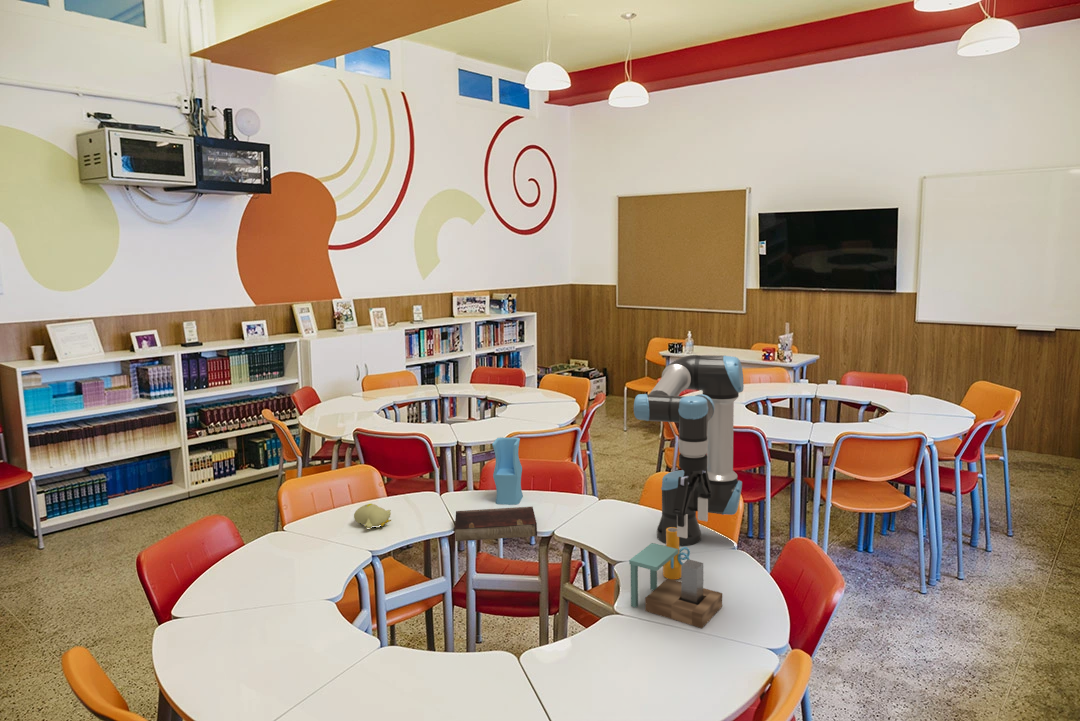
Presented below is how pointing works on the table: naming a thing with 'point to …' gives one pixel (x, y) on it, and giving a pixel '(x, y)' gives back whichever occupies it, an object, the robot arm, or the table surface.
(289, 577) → the table surface
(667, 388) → the robot arm
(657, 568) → the teal miniature table
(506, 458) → the blue high-backed chair
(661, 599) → the socket block
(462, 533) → the hardback book
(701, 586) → the peg
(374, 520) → the toy
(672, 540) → the cylinder
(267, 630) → the table surface
